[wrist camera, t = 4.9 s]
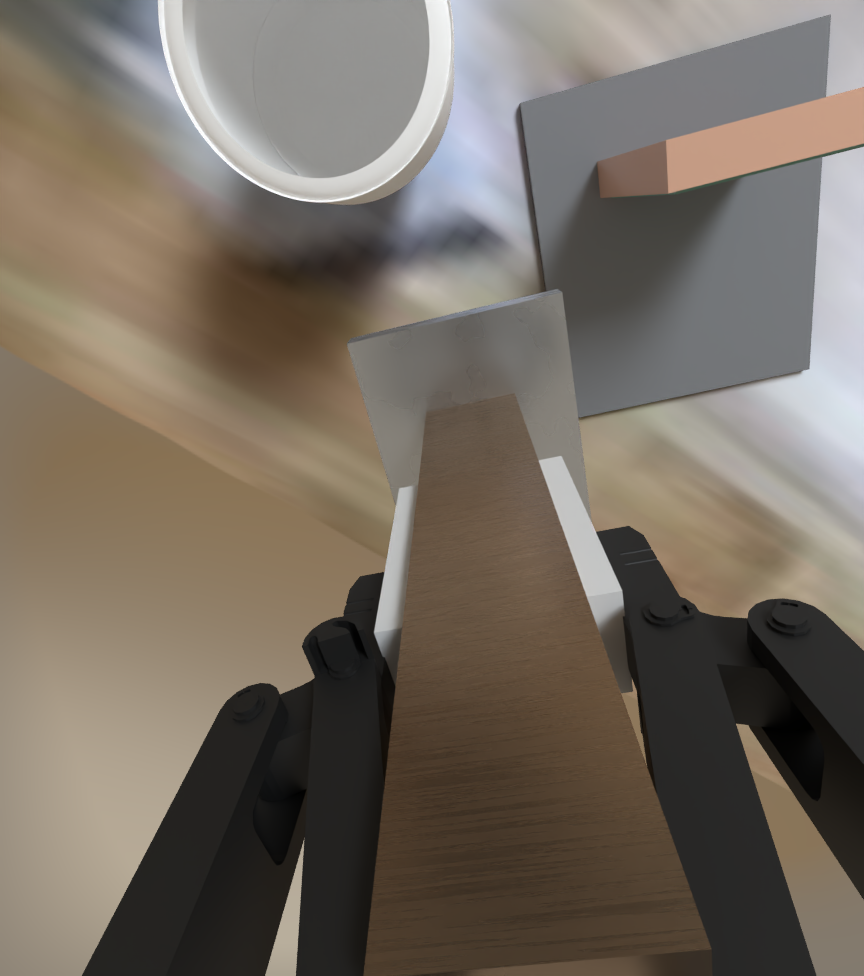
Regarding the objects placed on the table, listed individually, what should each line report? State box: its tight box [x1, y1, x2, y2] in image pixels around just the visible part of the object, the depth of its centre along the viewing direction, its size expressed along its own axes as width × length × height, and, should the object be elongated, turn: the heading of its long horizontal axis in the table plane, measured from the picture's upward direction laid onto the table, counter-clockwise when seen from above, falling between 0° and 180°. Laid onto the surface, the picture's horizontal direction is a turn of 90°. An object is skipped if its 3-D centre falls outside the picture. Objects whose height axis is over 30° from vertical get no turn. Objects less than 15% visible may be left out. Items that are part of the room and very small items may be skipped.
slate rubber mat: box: [519, 14, 831, 418], centre depth 36 cm, size 20×17×1 cm
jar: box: [158, 0, 454, 205], centre depth 27 cm, size 11×10×15 cm
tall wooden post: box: [347, 289, 712, 976], centre depth 15 cm, size 10×8×19 cm
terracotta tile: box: [597, 87, 864, 198], centre depth 28 cm, size 2×9×12 cm, turn 103°
